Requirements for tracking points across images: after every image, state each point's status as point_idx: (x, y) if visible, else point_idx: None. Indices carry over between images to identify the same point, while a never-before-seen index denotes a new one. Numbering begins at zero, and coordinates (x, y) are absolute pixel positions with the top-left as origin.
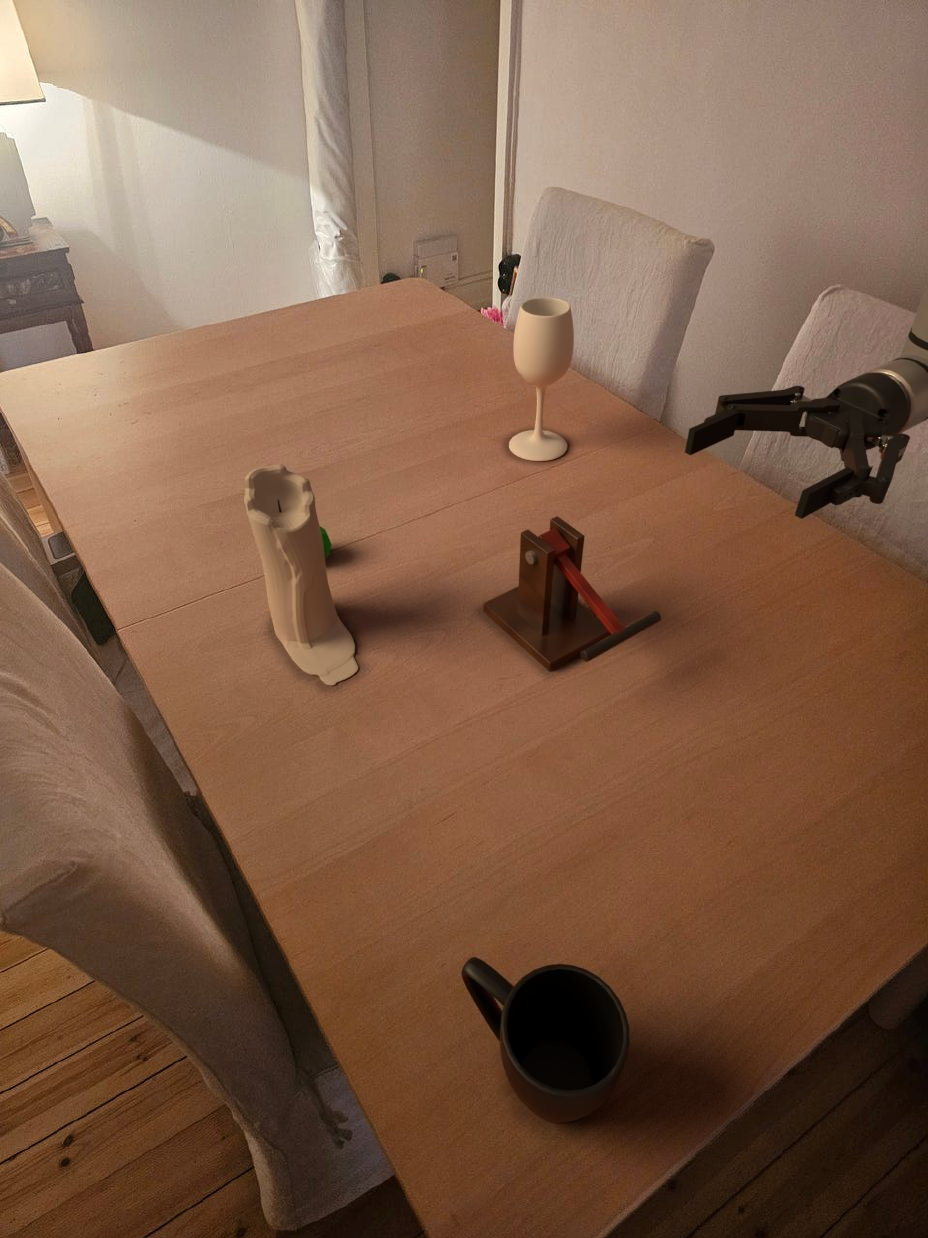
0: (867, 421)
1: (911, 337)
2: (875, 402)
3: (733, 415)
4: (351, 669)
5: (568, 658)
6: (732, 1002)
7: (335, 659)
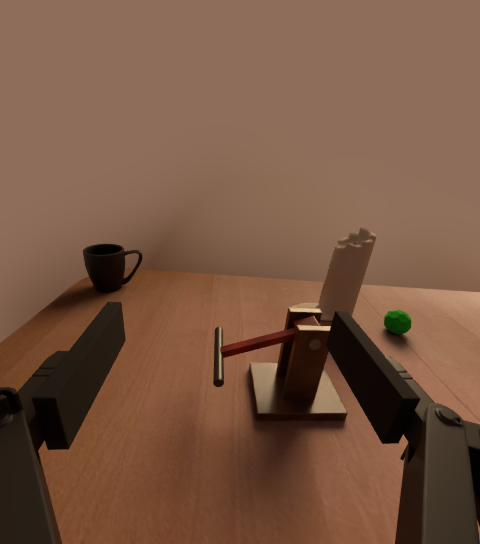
0: None
1: None
2: None
3: (390, 385)
4: None
5: (251, 379)
6: (57, 321)
7: None
